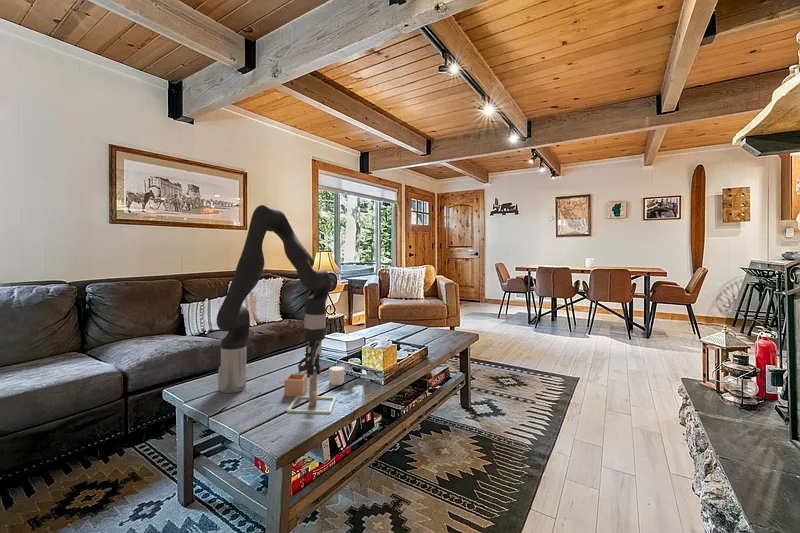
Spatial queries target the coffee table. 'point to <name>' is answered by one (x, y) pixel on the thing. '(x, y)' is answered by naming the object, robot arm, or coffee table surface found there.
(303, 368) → the brown curved piece
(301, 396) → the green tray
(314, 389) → the birch pin
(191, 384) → the coffee table surface
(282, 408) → the coffee table surface
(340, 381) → the beige cylinder
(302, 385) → the square clay pot
